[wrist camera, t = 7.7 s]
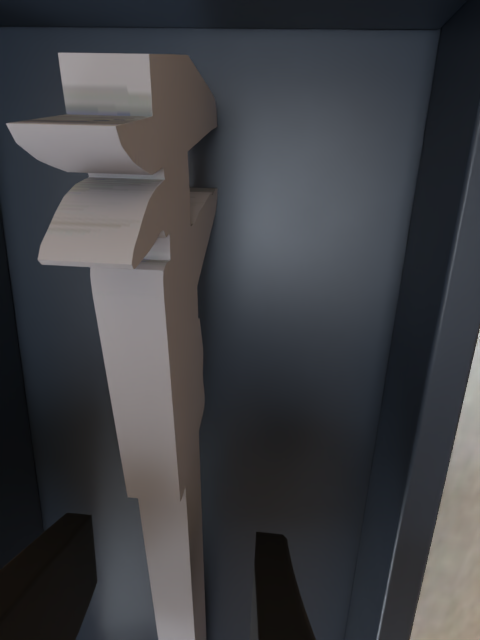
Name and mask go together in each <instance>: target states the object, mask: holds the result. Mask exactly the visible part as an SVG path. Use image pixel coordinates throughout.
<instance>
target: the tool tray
mask: <svg viewBox="0 0 480 640" xmlns="http://www.w3.org/2000/svg"><path fill="white" fill-rule="evenodd" d="M58 53H123V54H176V55H188V56H189V58H190V59H191V61H192V62H193V64H194V65H195V67H196V69H197V70H198V72H199V73H200V75H201V76H202V78H203V79H204V81H205V83H206V84H207V86H208V87H209V89H210V91H211V93H212V94H213V96H214V98H215V102H216V112H217V127H216V128H214V129H213V130H211V131H210V132H209V133H208V134H207V135H206V136H204V137H203V138H202V139H201V140H200V141H199V142H198V143H197V144H196V145H194V146H193V147H192V148H191V149H190V150H189V151H188V170H189V187H190V188H217V189H218V192H217V204H216V212H215V217H214V221H213V225H212V229H211V233H210V237H209V241H208V245H207V249H206V253H205V257H204V261H203V265H202V269H201V273H200V277H199V281H198V285H197V295H198V318H200V326H201V334H202V343H203V384H204V394H205V405H204V411H203V416H202V420H201V424H200V428H199V451H200V479H201V506H202V534H203V562H204V589H205V615H206V640H249V639H250V623H251V607H252V590H253V574H254V558H255V543H256V532H265V533H274V534H283V535H284V536H285V537H286V538H287V540H288V547H289V552H290V557H291V562H292V566H293V570H294V574H295V577H296V581H297V584H298V588H299V591H300V595H301V598H302V601H303V604H304V607H305V610H306V613H307V616H308V619H309V621H310V624H311V627H312V630H313V633H314V636H315V638H316V640H409V639H410V635H411V631H412V626H413V622H414V617H415V613H416V608H417V604H418V600H419V595H420V591H421V586H422V582H423V577H424V573H425V568H426V564H427V560H428V555H429V551H430V546H431V542H432V537H433V533H434V529H435V524H436V520H437V515H438V511H439V506H440V502H441V498H442V493H443V489H444V484H445V480H446V475H447V471H448V466H449V462H450V458H451V453H452V449H453V444H454V440H455V435H456V431H457V427H458V422H459V418H460V413H461V409H462V404H463V400H464V395H465V391H466V387H467V382H468V378H469V373H470V369H471V364H472V360H473V356H474V351H475V347H476V342H477V338H478V333H479V329H480V0H0V570H1V569H2V568H3V567H4V566H5V565H6V564H8V563H9V562H10V561H11V560H12V559H13V558H15V557H16V556H17V555H18V554H19V553H20V552H22V551H23V550H24V549H25V548H26V547H27V546H28V545H30V544H31V543H32V542H33V541H34V540H35V539H36V538H38V537H39V536H40V535H41V534H42V533H43V532H45V531H46V530H47V529H48V528H49V527H50V526H51V525H53V524H54V523H55V522H56V521H57V520H59V519H60V518H61V517H62V516H63V515H64V514H66V513H77V514H87V515H92V525H93V536H94V548H95V559H96V570H97V584H96V587H95V590H94V593H93V595H92V598H91V601H90V604H89V607H88V609H87V612H86V615H85V617H84V620H83V623H82V625H81V628H80V631H79V633H78V635H77V637H76V639H75V640H158V634H157V627H156V620H155V613H154V606H153V599H152V592H151V585H150V578H149V571H148V564H147V557H146V551H145V544H144V537H143V530H142V523H141V516H140V509H139V502H138V498H130V497H128V496H127V490H126V485H125V479H124V473H123V467H122V461H121V456H120V450H119V444H118V438H117V433H116V427H115V421H114V415H113V410H112V404H111V398H110V392H109V387H108V381H107V375H106V369H105V363H104V358H103V352H102V346H101V340H100V335H99V329H98V323H97V317H96V312H95V306H94V300H93V294H92V287H91V278H90V267H77V266H58V265H42V264H41V263H40V262H39V261H38V255H39V250H40V245H41V243H42V241H43V238H44V236H45V234H46V232H47V230H48V228H49V225H50V223H51V221H52V219H53V216H54V214H55V212H56V210H57V208H58V206H59V204H60V203H61V201H62V199H63V197H64V196H65V195H66V194H67V193H68V191H69V190H70V189H71V188H72V187H73V186H74V185H75V184H77V183H79V182H81V181H83V180H84V179H86V178H88V177H89V175H88V173H79V172H66V171H63V170H61V169H58V168H55V167H53V166H50V165H48V164H46V163H43V162H41V161H39V160H37V159H36V158H34V157H33V156H32V155H31V154H29V153H28V152H27V151H26V150H24V149H23V148H22V147H21V146H19V145H18V144H17V143H16V142H15V140H14V138H13V136H12V134H11V132H10V130H9V129H8V127H7V125H6V123H11V122H18V121H25V120H31V119H38V118H45V117H52V116H59V115H66V108H65V101H64V94H63V87H62V79H61V72H60V65H59V58H58Z"/></svg>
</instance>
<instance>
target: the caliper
mask: <svg viewBox="0 0 480 640" xmlns="http://www.w3.org/2000/svg"><path fill="white" fill-rule="evenodd" d="M58 58H59V65H60V72H61V79H62V87H63V94H64V101H65V108H66V115H59V116H52V117H45V118H38V119H31V120H25V121H18V122H11V123H6V125H7V127H8V129H9V130H10V132H11V134H12V136H13V138H14V140H15V142H16V143H17V144H18V145H19V146H21V147H22V148H23V149H24V150H26V151H27V152H28V153H29V154H31V155H32V156H33V157H34V158H36V159H37V160H39V161H41V162H43V163H46V164H48V165H50V166H53V167H55V168H58V169H61V170H63V171H66V172H79V173H88V175H89V177H88V178H86V179H84V180H83V181H81V182H79V183H77V184H75V185H74V186H73V187H72V188H71V189H70V190H69V191H68V193H67V194H66V195H65V196H64V197H63V199H62V201H61V203H60V204H59V206H58V208H57V210H56V212H55V214H54V216H53V219H52V221H51V223H50V225H49V228H48V230H47V232H46V234H45V236H44V238H43V241H42V243H41V245H40V250H39V255H38V261H39V262H40V263H41V264H42V265H58V266H77V267H90V278H91V287H92V294H93V300H94V306H95V312H96V317H97V323H98V329H99V335H100V340H101V346H102V352H103V358H104V363H105V369H106V375H107V381H108V387H109V392H110V398H111V404H112V410H113V415H114V421H115V427H116V433H117V438H118V444H119V450H120V456H121V461H122V467H123V473H124V479H125V485H126V490H127V496H128V497H130V498H138V502H139V509H140V516H141V523H142V530H143V537H144V544H145V551H146V557H147V564H148V571H149V578H150V585H151V592H152V599H153V606H154V613H155V620H156V627H157V634H158V640H206V615H205V589H204V562H203V534H202V506H201V479H200V451H199V428H200V424H201V420H202V416H203V411H204V405H205V394H204V384H203V343H202V334H201V326H200V318H198V295H197V285H198V281H199V277H200V273H201V269H202V265H203V261H204V257H205V253H206V249H207V245H208V241H209V237H210V233H211V229H212V225H213V221H214V217H215V212H216V204H217V192H218V189H217V188H190V187H189V170H188V151H189V150H190V149H191V148H192V147H193V146H194V145H196V144H197V143H198V142H199V141H200V140H201V139H202V138H203V137H204V136H206V135H207V134H208V133H209V132H210V131H211V130H213V129H214V128H216V127H217V112H216V102H215V98H214V96H213V94H212V93H211V91H210V89H209V87H208V86H207V84H206V83H205V81H204V79H203V78H202V76H201V75H200V73H199V72H198V70H197V69H196V67H195V65H194V64H193V62H192V61H191V59H190V58H189V56H188V55H176V54H123V53H58Z"/></svg>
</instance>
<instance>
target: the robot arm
mask: <svg viewBox="0 0 480 640" xmlns="http://www.w3.org/2000/svg"><path fill="white" fill-rule="evenodd" d="M96 584H97V570H96V559H95V548H94V536H93V525H92V515H87V514H77V513H66V514H64V515H63V516H62V517H61V518H60V519H59V520H57V521H56V522H55V523H54V524H53V525H51V526H50V527H49V528H48V529H47V530H46V531H45V532H43V533H42V534H41V535H40V536H39V537H38V538H36V539H35V540H34V541H33V542H32V543H31V544H30V545H28V546H27V547H26V548H25V549H24V550H23V551H22V552H20V553H19V554H18V555H17V556H16V557H15V558H13V559H12V560H11V561H10V562H9V563H8V564H6V565H5V566H4V567H3V568H2V569H1V570H0V640H75V639H76V637H77V635H78V633H79V631H80V628H81V625H82V623H83V620H84V617H85V615H86V612H87V609H88V607H89V604H90V601H91V598H92V595H93V593H94V590H95V587H96ZM249 640H316V638H315V636H314V633H313V630H312V627H311V624H310V621H309V619H308V616H307V613H306V610H305V607H304V604H303V601H302V598H301V595H300V591H299V588H298V584H297V581H296V577H295V574H294V570H293V566H292V562H291V557H290V552H289V547H288V540H287V538H286V537H285V536H284V535H283V534H274V533H265V532H256V543H255V558H254V574H253V590H252V607H251V623H250V639H249Z"/></svg>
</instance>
